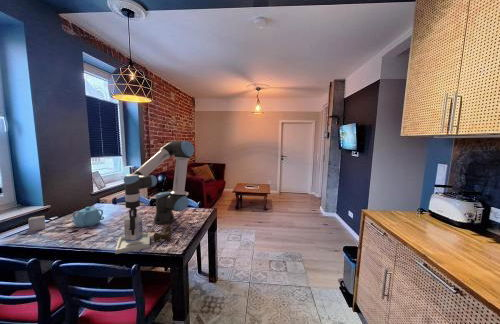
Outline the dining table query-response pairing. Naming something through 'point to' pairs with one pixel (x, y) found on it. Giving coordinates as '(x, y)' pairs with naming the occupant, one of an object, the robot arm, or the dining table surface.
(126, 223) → the supplement tub
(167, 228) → the kendama
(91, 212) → the decorative pot
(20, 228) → the dining table surface
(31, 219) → the medicine box
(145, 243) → the sage tray
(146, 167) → the robot arm
